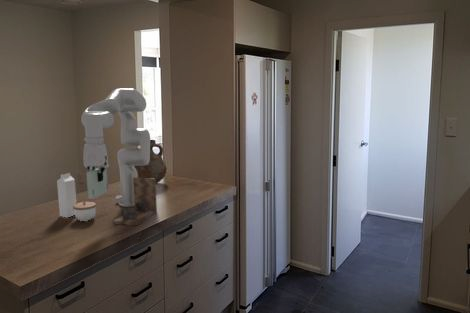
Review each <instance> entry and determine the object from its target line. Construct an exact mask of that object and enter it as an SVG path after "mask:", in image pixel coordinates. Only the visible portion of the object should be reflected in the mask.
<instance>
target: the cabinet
mask: <svg viewBox="0 0 470 313" xmlns="http://www.w3.org/2000/svg"><path fill="white" fill-rule="evenodd" d="M133 185H134V205H135V206H134V208H133V209H131V210H128V209H127V208H126V209H124V210H122V215H121V216H119V217H117V218H116V219H114V220H113V224H115V225H124V224H126V225H127V226H135V225H137V226H138V225H139V224H142V223H143V222H144V221H145V220H147V219H149V218H150V217H151V216H153V215H154V214H156V213H157V212H158V209H157V206H158V205H157V187H156V186H157V185H156V180H155V178H138V177H134V178H133ZM126 225H125V226H126Z"/></svg>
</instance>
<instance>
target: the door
mask: <svg viewBox="0 0 470 313" xmlns="http://www.w3.org/2000/svg"><path fill="white" fill-rule="evenodd" d="M107 169H108V168H107ZM107 169H105V170H104V172H103V181H100V182H98V173H99V172H98V167H97V168H95V169H94V170H91V171H89V170H88V171H87V172H86V186H87V198H88V199H90V200H94V199H96V198H98V197H100V196H102V195H105V194H107V193H109V189H108V187H109V186H108V170H107Z"/></svg>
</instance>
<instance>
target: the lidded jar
mask: <svg viewBox="0 0 470 313" xmlns="http://www.w3.org/2000/svg"><path fill="white" fill-rule="evenodd" d="M76 203H77V202H76ZM73 210H74V215H75V216H74V218H76V219H77V220H78V221H79V220H80V221H79V222H81V221H85V222H89V221H88V220H90V221H91V219H92V220H93V218H94V217H95V216H96V212H97V204H96V202H94V201H85V200H84V201H82V202H78V203H77V204H74V205H73Z"/></svg>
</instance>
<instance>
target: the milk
mask: <svg viewBox="0 0 470 313" xmlns="http://www.w3.org/2000/svg"><path fill="white" fill-rule="evenodd" d="M75 181H76V179H75V178H74V177H73V176H72V175H71V172H68V173H65V174H64V173H63V174H60V178H59V179H57V180H56V187H57V198H58V208H59V217H60V216H63V217H62V218H64V217H71V216H73V215H74V210H73V205H74V204H77V194H76V193H77V191H76V182H75ZM73 217H74V216H73ZM71 218H72V217H71Z"/></svg>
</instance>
